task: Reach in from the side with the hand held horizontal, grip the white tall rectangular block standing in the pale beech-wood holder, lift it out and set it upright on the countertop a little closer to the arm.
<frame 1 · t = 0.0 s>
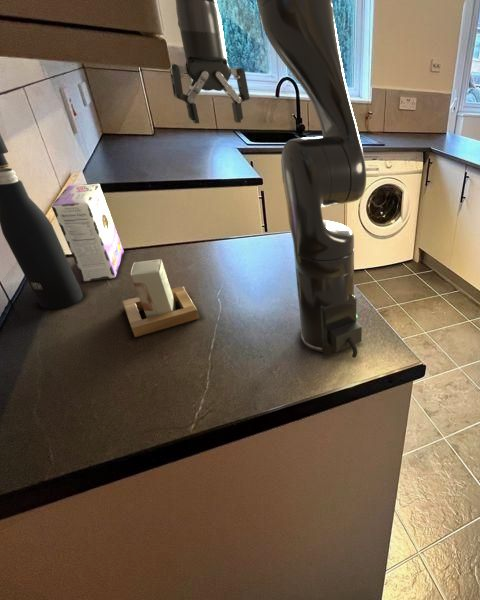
hand: (217, 122, 81), 29 cm above the worktop, tool pointing down, fingers open, 8 cm apart
dark grey bottle: (62, 301, 72), on the worktop
white tall rectangular block: (162, 315, 70), resting in holder
candy box: (105, 266, 84), on the worktop
holder: (162, 314, 70), on the worktop
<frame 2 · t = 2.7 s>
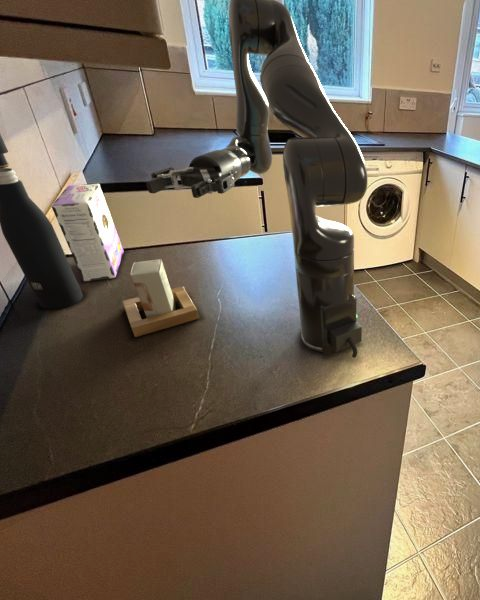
hand: (171, 190, 69), 20 cm above the worktop, tool horizontal, fingers open, 8 cm apart
nothing on the worktop moved.
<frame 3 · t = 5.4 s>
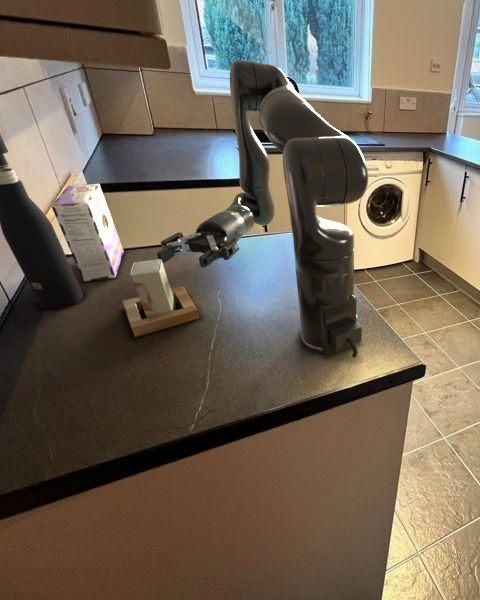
hand: (180, 260, 74), 7 cm above the worktop, tool horizontal, fingers open, 8 cm apart
nothing on the worktop moved.
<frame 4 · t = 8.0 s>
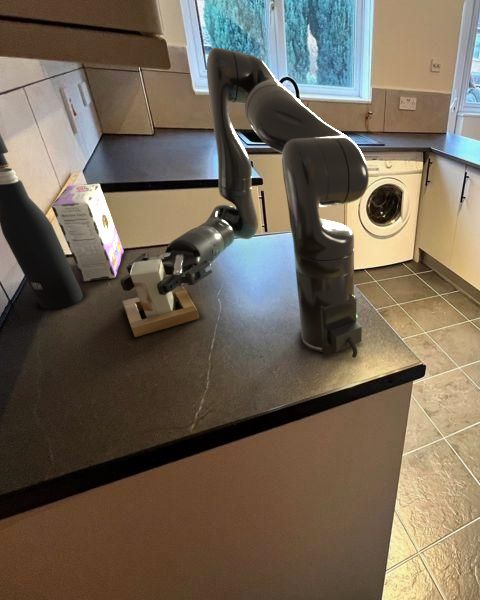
hand: (142, 288, 64), 7 cm above the worktop, tool horizontal, fingers closed on white tall rectangular block, 6 cm apart
white tall rectangular block: (162, 315, 70), resting in holder, touching gripper
everything else where it was.
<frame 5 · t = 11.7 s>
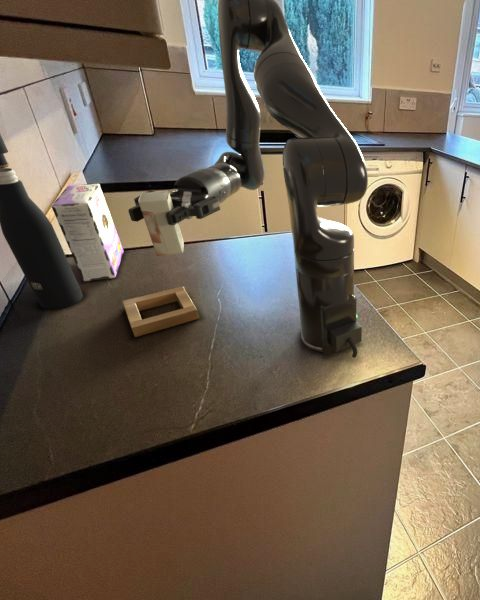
hand: (150, 217, 64), 18 cm above the worktop, tool horizontal, fingers closed on white tall rectangular block, 6 cm apart
white tall rectangular block: (170, 250, 69), point 10 cm above the worktop, touching gripper
everything else where it was.
when the fingers open (7 cm above the worktop, at t = 15.7 s): white tall rectangular block stays where it is, on the worktop.
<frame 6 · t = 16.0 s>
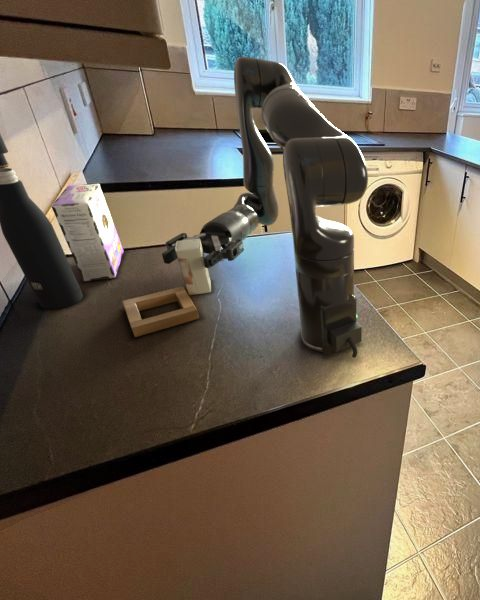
hand: (185, 261, 73), 7 cm above the worktop, tool horizontal, fingers open, 8 cm apart
white tall rectangular block: (199, 289, 79), on the worktop
everything else where it was.
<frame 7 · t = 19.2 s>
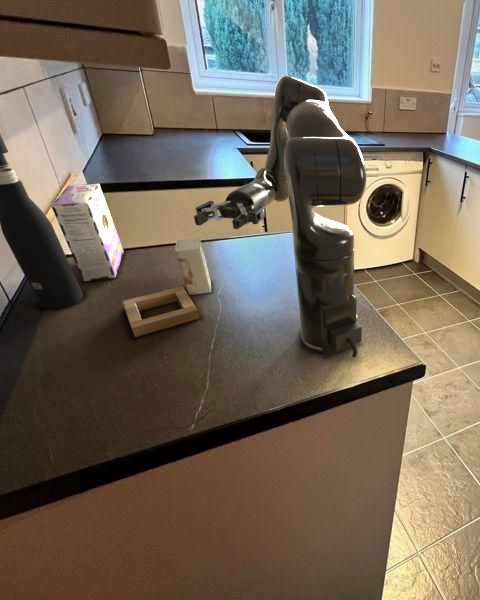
hand: (215, 223, 82), 10 cm above the worktop, tool horizontal, fingers open, 8 cm apart
nothing on the worktop moved.
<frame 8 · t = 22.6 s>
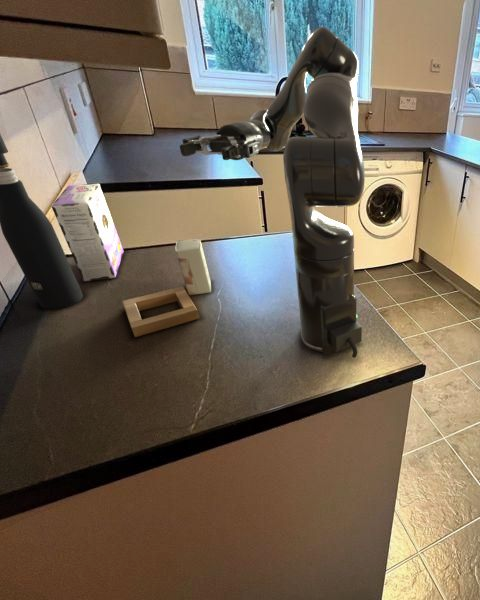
hand: (203, 152, 75), 25 cm above the worktop, tool horizontal, fingers open, 8 cm apart
nothing on the worktop moved.
at the end: white tall rectangular block inside the target area (0.1 cm from its centre), on the worktop; white tall rectangular block tilted 0°; the gripper is holding nothing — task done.
